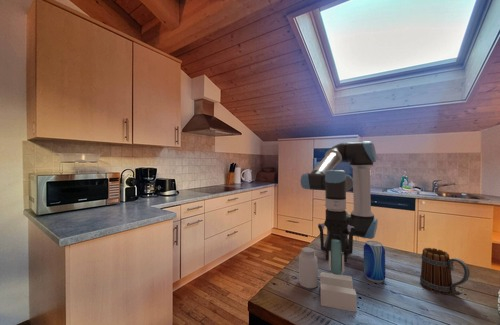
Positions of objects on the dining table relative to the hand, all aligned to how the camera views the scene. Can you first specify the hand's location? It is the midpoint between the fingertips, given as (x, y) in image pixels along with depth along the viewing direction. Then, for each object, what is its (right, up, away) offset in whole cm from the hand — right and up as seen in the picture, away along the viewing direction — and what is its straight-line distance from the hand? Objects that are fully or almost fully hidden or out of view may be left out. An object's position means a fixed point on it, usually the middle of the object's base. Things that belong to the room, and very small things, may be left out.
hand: (336, 269), depth 81 cm
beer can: (+23, -11, +13) cm, 29 cm away
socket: (0, -11, 0) cm, 11 cm away
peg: (0, -1, 0) cm, 1 cm away
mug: (+46, -11, +4) cm, 47 cm away
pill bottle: (-8, -12, +10) cm, 17 cm away
